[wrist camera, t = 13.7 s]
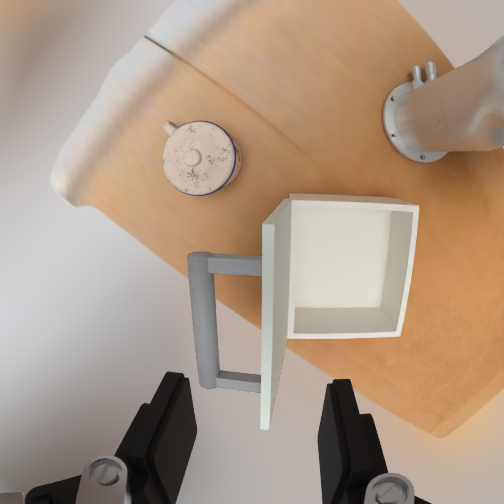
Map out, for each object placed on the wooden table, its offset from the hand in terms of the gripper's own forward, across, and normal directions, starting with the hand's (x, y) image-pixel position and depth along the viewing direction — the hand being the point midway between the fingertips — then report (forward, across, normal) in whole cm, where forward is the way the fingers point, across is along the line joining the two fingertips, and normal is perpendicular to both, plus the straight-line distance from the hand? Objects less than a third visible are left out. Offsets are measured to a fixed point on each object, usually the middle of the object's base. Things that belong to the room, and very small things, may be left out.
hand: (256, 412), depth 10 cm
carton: (+37, -10, +5) cm, 39 cm away
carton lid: (+20, -1, +5) cm, 21 cm away
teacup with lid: (+38, +10, -10) cm, 40 cm away
